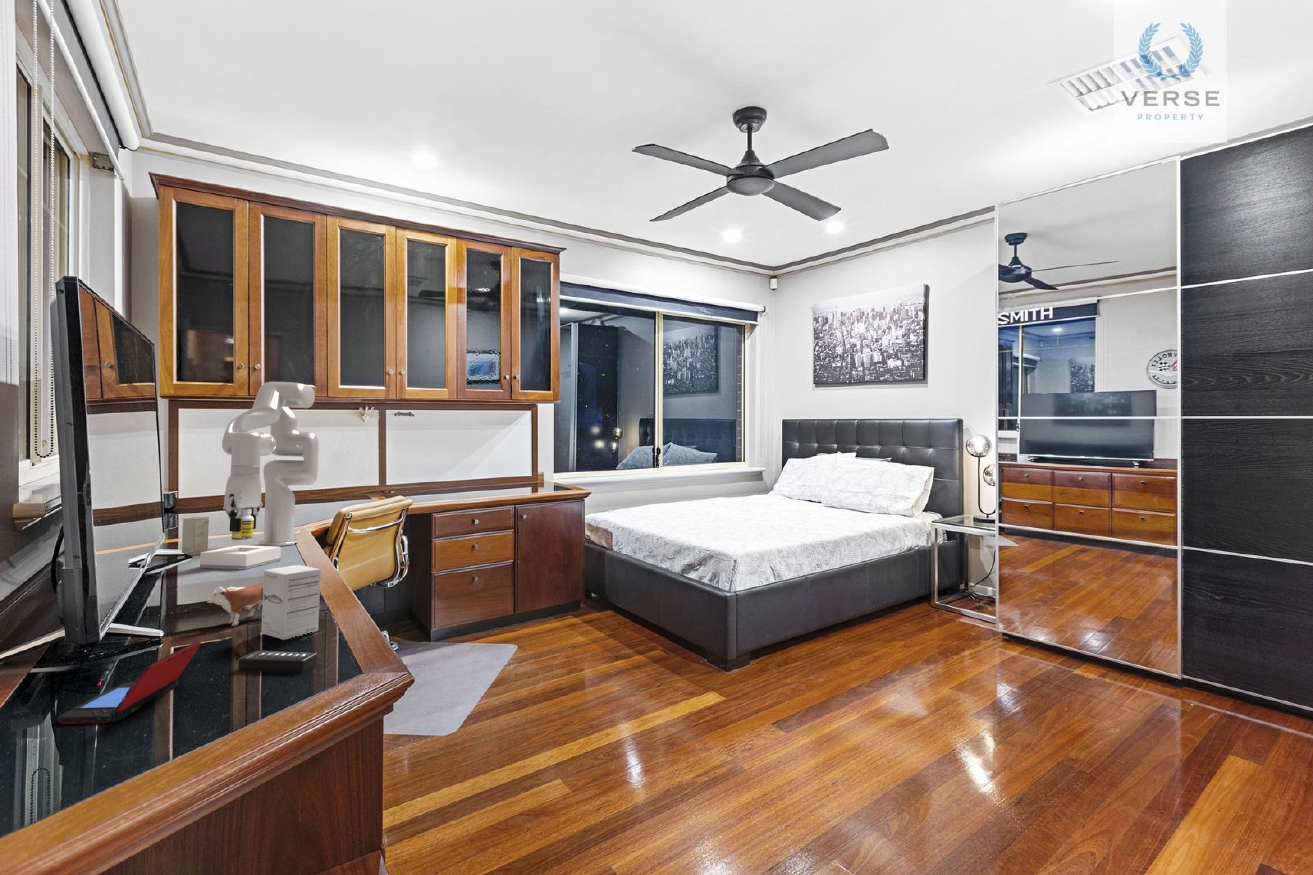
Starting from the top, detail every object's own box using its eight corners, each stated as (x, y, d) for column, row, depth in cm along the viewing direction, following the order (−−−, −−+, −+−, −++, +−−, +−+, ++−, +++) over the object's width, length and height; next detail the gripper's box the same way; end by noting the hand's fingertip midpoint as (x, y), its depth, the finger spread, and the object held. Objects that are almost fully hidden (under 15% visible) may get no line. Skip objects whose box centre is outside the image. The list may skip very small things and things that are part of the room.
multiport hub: (301, 675, 98) (302, 661, 98) (236, 673, 98) (236, 658, 98) (318, 665, 102) (318, 652, 102) (255, 663, 103) (255, 650, 103)
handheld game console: (124, 689, 91) (127, 639, 91) (202, 687, 92) (204, 638, 92) (51, 726, 78) (54, 669, 78) (142, 724, 79) (145, 667, 80)
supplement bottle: (242, 542, 183) (243, 510, 183) (227, 541, 184) (228, 509, 184) (257, 540, 188) (258, 508, 188) (242, 539, 189) (243, 508, 190)
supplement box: (259, 634, 117) (262, 569, 118) (297, 625, 124) (299, 564, 124) (282, 641, 114) (284, 574, 114) (319, 631, 120) (322, 567, 121)
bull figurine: (201, 629, 120) (203, 588, 120) (263, 612, 133) (264, 575, 133) (217, 631, 119) (219, 589, 119) (278, 614, 132) (279, 577, 132)
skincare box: (193, 555, 199) (195, 518, 199) (180, 555, 199) (182, 518, 199) (208, 552, 205) (209, 516, 205) (195, 552, 205) (197, 516, 206)
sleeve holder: (237, 559, 194) (238, 545, 194) (280, 560, 193) (280, 546, 193) (199, 567, 179) (200, 552, 179) (246, 569, 178) (246, 554, 178)
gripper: (254, 471, 196) (251, 526, 195) (211, 472, 179) (208, 533, 178) (276, 471, 195) (273, 527, 194) (235, 472, 178) (232, 534, 177)
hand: (242, 529), depth 186 cm, fingers closed on supplement bottle, 5 cm apart
